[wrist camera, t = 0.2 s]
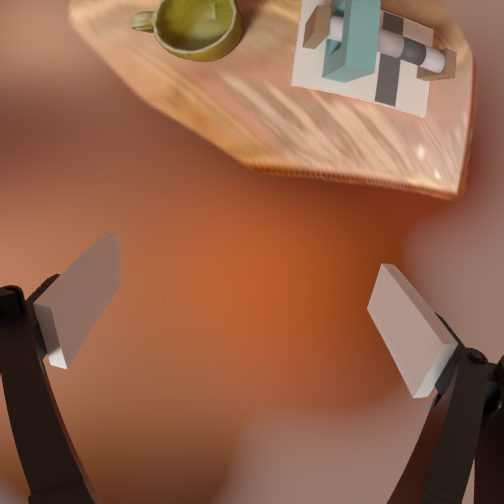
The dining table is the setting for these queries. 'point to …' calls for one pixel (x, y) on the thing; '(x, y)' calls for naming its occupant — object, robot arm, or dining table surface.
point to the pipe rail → (387, 59)
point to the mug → (194, 27)
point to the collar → (353, 41)
